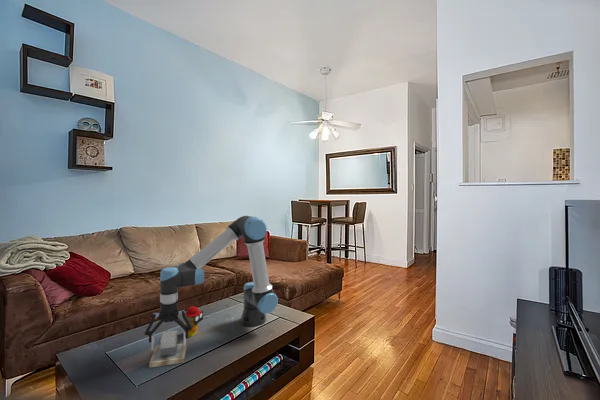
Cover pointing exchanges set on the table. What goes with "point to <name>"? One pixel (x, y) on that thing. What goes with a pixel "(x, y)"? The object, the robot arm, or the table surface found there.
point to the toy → (194, 319)
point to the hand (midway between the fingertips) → (169, 346)
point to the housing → (169, 343)
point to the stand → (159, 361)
